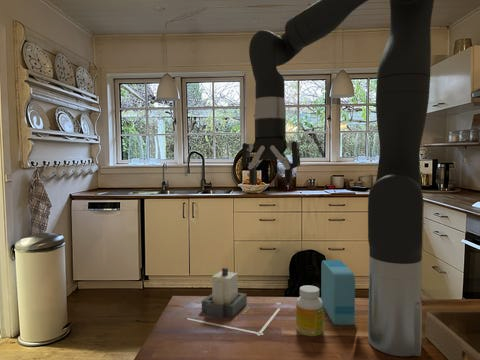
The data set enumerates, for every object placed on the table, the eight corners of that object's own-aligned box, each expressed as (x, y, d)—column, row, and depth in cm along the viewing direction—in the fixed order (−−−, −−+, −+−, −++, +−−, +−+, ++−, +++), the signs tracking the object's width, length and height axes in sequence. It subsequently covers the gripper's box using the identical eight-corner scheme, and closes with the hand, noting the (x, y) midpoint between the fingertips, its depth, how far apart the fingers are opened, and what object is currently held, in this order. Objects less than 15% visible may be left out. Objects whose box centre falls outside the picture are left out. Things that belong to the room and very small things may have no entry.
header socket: (253, 305, 85) (253, 295, 85) (237, 321, 76) (237, 310, 76) (217, 299, 89) (217, 289, 89) (198, 313, 80) (198, 302, 80)
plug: (237, 305, 85) (237, 267, 84) (227, 314, 80) (227, 273, 79) (221, 302, 86) (220, 264, 86) (210, 311, 81) (210, 271, 81)
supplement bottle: (321, 343, 69) (321, 294, 68) (293, 338, 71) (293, 291, 70) (324, 330, 74) (324, 285, 73) (298, 326, 76) (299, 282, 75)
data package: (354, 329, 74) (355, 274, 74) (333, 329, 74) (334, 274, 74) (339, 306, 86) (339, 258, 86) (321, 306, 86) (321, 258, 86)
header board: (282, 313, 82) (282, 308, 82) (261, 341, 70) (261, 336, 70) (215, 301, 90) (215, 297, 90) (185, 324, 77) (185, 320, 77)
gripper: (302, 118, 85) (302, 184, 86) (248, 121, 91) (249, 183, 92) (294, 114, 78) (294, 186, 79) (236, 118, 84) (237, 185, 85)
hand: (270, 185), depth 85 cm, fingers open, 8 cm apart
